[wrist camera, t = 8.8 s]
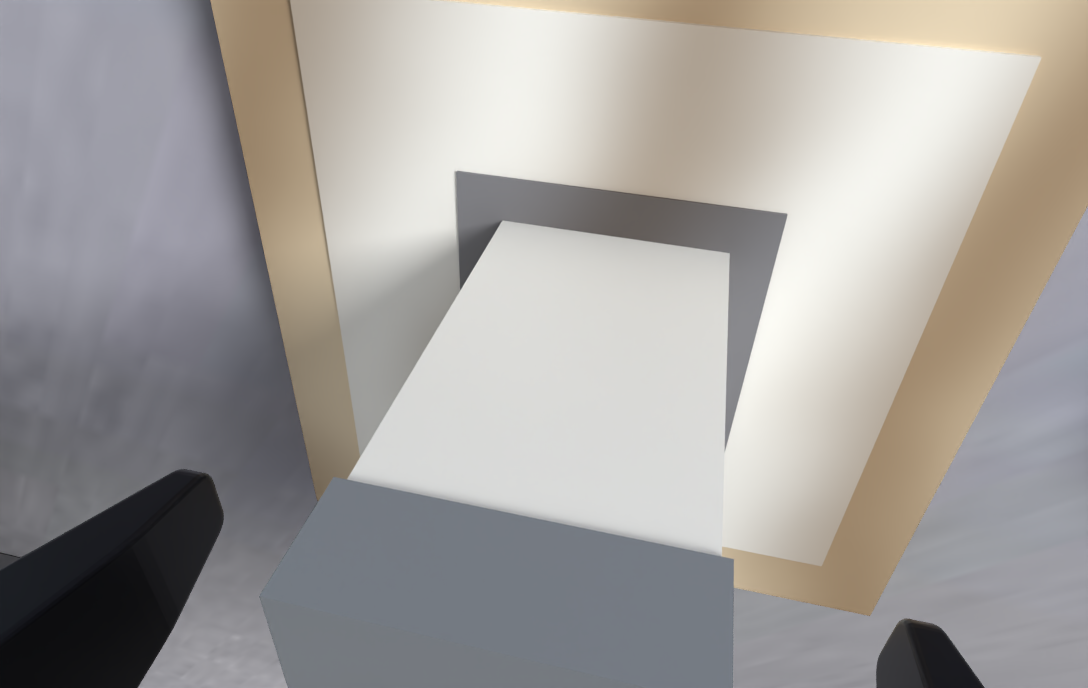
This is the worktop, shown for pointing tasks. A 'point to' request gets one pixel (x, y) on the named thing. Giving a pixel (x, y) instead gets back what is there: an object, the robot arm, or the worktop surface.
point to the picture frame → (685, 215)
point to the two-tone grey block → (534, 488)
